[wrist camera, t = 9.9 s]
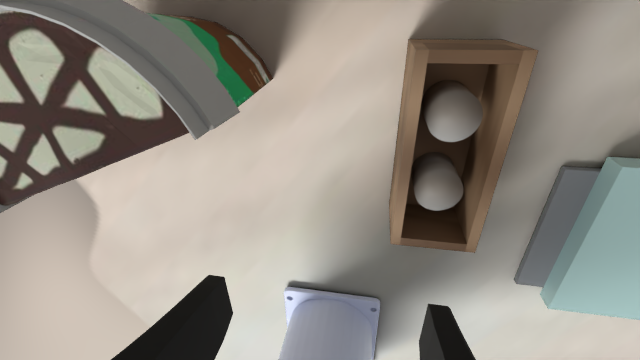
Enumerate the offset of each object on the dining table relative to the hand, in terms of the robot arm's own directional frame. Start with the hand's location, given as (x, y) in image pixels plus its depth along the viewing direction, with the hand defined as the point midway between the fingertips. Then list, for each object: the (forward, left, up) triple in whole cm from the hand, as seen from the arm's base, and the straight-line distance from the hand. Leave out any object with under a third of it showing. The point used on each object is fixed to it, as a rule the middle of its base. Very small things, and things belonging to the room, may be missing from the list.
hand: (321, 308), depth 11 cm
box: (+3, -5, -10) cm, 12 cm away
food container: (+7, +10, -11) cm, 16 cm away
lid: (-3, -16, -10) cm, 20 cm away
